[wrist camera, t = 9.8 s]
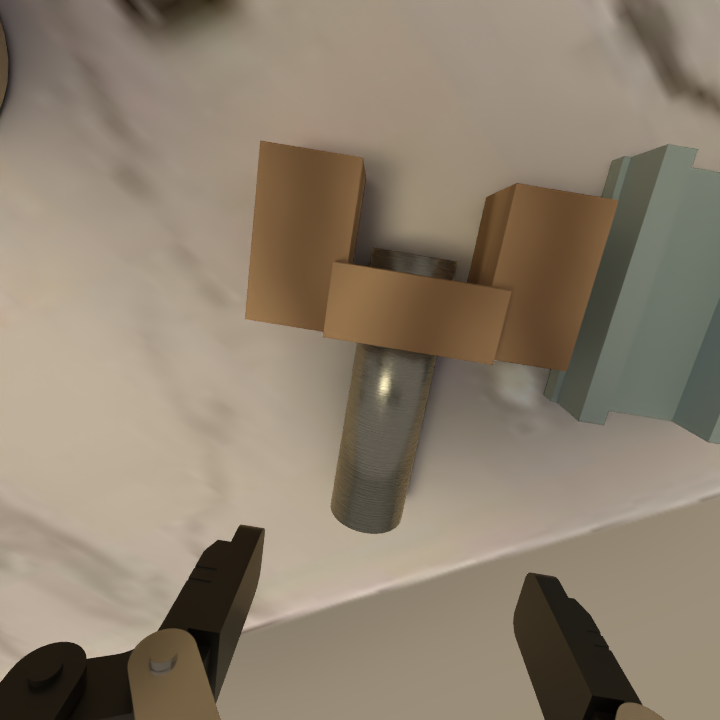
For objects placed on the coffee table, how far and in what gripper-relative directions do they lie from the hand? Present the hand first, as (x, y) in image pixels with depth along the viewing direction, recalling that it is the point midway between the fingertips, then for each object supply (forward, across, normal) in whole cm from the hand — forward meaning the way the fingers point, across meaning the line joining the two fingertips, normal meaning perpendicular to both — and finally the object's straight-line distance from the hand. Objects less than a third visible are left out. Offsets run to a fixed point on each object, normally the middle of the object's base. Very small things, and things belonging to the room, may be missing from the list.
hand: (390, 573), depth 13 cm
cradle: (+12, -12, -9) cm, 19 cm away
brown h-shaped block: (+12, 0, -9) cm, 15 cm away
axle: (+10, 0, -2) cm, 10 cm away
